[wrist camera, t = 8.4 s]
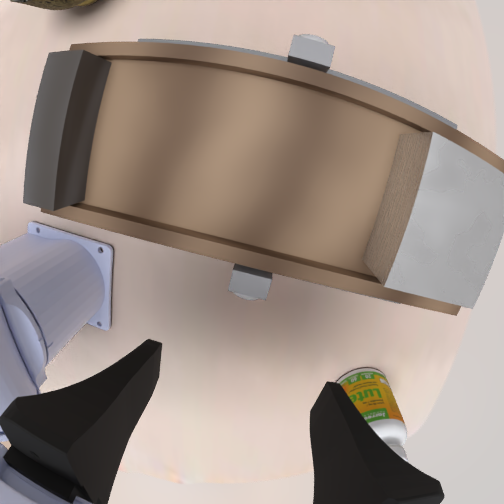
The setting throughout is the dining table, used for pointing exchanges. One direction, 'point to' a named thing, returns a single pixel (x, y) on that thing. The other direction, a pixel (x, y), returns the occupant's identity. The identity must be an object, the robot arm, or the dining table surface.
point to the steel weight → (437, 221)
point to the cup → (56, 3)
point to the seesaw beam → (223, 157)
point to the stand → (312, 56)
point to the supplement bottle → (377, 406)
